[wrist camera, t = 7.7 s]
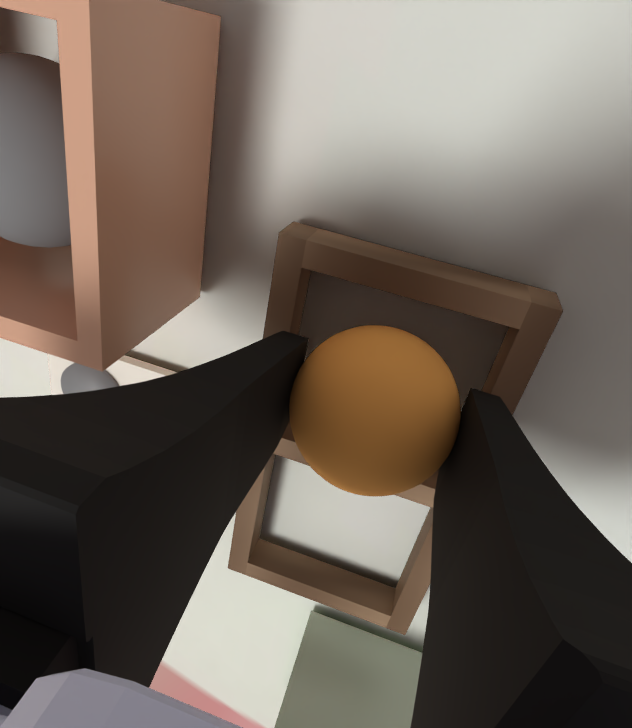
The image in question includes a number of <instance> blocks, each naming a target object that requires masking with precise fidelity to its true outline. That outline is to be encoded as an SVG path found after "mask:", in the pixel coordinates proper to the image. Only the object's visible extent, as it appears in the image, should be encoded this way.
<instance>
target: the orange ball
mask: <svg viewBox="0 0 632 728" xmlns="http://www.w3.org/2000/svg"><path fill="white" fill-rule="evenodd" d="M289 415H290V425H291V430H292V433H293V436H294V440H295V442H296V445H297V447H298V449H299V451H300V452H301V454H302V456H303V457H304V459H305V460H306V462H307V463H308V464H309V465H310V467H311V468H312V469H313V470H314V471H315V472H316V473H317V474H318V475H320V476H321V477H322V478H323V479H325V480H326V481H328V482H329V483H331V484H332V485H334V486H336V487H338V488H340V489H342V490H345V491H347V492H350V493H354V494H358V495H364V496H387V495H394V494H398V493H401V492H404V491H406V490H409V489H412V488H414V487H416V486H417V485H419V484H421V483H422V482H424V481H425V480H427V479H428V478H429V477H430V476H432V475H433V474H434V473H435V472H436V471H437V470H438V469H439V468H440V466H441V465H442V464H443V463H444V461H445V460H446V459H447V457H448V456H449V454H450V452H451V450H452V448H453V446H454V443H455V440H456V438H457V435H458V431H459V425H460V419H461V406H460V398H459V392H458V389H457V386H456V382H455V380H454V377H453V375H452V373H451V371H450V369H449V367H448V366H447V364H446V363H445V361H444V360H443V359H442V357H441V356H440V355H439V354H438V353H437V352H436V351H435V350H434V349H433V348H432V347H431V346H430V345H429V344H427V343H426V342H425V341H423V340H422V339H420V338H419V337H417V336H415V335H413V334H411V333H409V332H406V331H404V330H401V329H398V328H394V327H389V326H381V325H366V326H359V327H355V328H351V329H347V330H344V331H342V332H340V333H337V334H335V335H333V336H332V337H330V338H328V339H327V340H325V341H324V342H323V343H321V344H320V345H319V346H318V347H316V348H315V349H314V350H313V352H312V353H311V354H310V355H309V356H308V357H307V359H306V360H305V361H304V363H303V364H302V366H301V367H300V369H299V372H298V374H297V376H296V378H295V380H294V383H293V387H292V391H291V395H290V403H289Z"/></svg>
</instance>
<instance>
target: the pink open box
mask: <svg viewBox="0 0 632 728" xmlns="http://www.w3.org/2000/svg"><path fill="white" fill-rule="evenodd" d="M0 7H2V8H6V9H11V10H15V11H19V12H24V13H28V14H32V15H37V16H41V17H46V18H50V19H54V20H57V31H58V47H59V62H60V78H61V93H62V109H63V124H64V140H65V155H66V171H67V186H68V202H69V217H70V233H71V245H69V246H62V247H52V248H47V247H32V246H27V245H23V244H19V243H15V242H12V241H9V240H6V239H4V238H2V237H0V338H3V339H6V340H9V341H12V342H15V343H18V344H21V345H24V346H27V347H30V348H33V349H36V350H39V351H42V352H45V353H48V354H51V355H54V356H57V357H60V358H63V359H66V360H69V361H72V362H75V363H78V364H81V365H84V366H87V367H90V368H93V369H96V370H99V371H102V372H103V371H104V370H105V369H107V368H108V367H109V366H111V365H112V364H113V363H115V362H116V361H117V360H118V359H120V358H121V357H122V356H124V355H125V354H126V353H128V352H129V351H130V350H131V349H133V348H134V347H135V346H137V345H138V344H139V343H141V342H142V341H143V340H144V339H146V338H147V337H148V336H150V335H151V334H152V333H154V332H155V331H156V330H157V329H159V328H160V327H161V326H163V325H164V324H165V323H167V322H168V321H169V320H170V319H172V318H173V317H174V316H176V315H177V314H178V313H180V312H181V311H182V310H184V309H185V308H186V307H187V306H189V305H190V304H191V303H193V302H194V301H195V300H197V299H198V298H199V297H200V290H201V277H202V263H203V250H204V237H205V223H206V210H207V197H208V184H209V170H210V157H211V144H212V130H213V117H214V104H215V90H216V77H217V64H218V51H219V37H220V24H221V16H217V15H213V14H210V13H206V12H202V11H198V10H194V9H191V8H187V7H183V6H179V5H175V4H172V3H168V2H164V1H160V0H0Z"/></svg>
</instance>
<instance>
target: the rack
mask: <svg viewBox="0 0 632 728" xmlns="http://www.w3.org/2000/svg"><path fill="white" fill-rule="evenodd" d="M311 270H312V271H316V272H319V273H323V274H326V275H330V276H333V277H337V278H340V279H344V280H347V281H351V282H354V283H358V284H361V285H365V286H368V287H372V288H375V289H379V290H382V291H386V292H389V293H393V294H396V295H400V296H404V297H407V298H411V299H414V300H418V301H421V302H425V303H428V304H432V305H435V306H439V307H442V308H446V309H449V310H453V311H456V312H460V313H463V314H467V315H470V316H474V317H477V318H481V319H484V320H488V321H491V322H495V323H498V324H502V325H505V326H509V328H508V331H507V333H506V335H505V338H504V340H503V342H502V344H501V347H500V349H499V351H498V354H497V356H496V358H495V361H494V363H493V365H492V367H491V370H490V372H489V374H488V377H487V379H486V381H485V384H484V386H483V388H482V390H481V391H483V392H486V393H490V394H493V395H496V396H499V397H501V399H502V400H503V402H504V403H505V405H506V406H507V408H508V410H509V411H510V413H511V414H512V415H513V413H514V411H515V409H516V407H517V405H518V402H519V400H520V398H521V396H522V394H523V392H524V390H525V388H526V386H527V384H528V382H529V380H530V378H531V376H532V374H533V372H534V370H535V368H536V366H537V364H538V362H539V359H540V357H541V355H542V353H543V351H544V349H545V347H546V345H547V343H548V341H549V339H550V337H551V335H552V333H553V331H554V329H555V327H556V325H557V323H558V321H559V318H560V316H561V314H562V312H563V309H562V307H561V304H560V302H559V299H558V296H557V294H556V293H554V292H551V291H547V290H543V289H540V288H536V287H532V286H529V285H525V284H521V283H518V282H514V281H510V280H507V279H503V278H499V277H496V276H492V275H488V274H485V273H481V272H477V271H474V270H470V269H466V268H463V267H459V266H455V265H452V264H448V263H444V262H441V261H437V260H433V259H430V258H426V257H422V256H418V255H415V254H411V253H407V252H404V251H400V250H396V249H393V248H389V247H385V246H382V245H378V244H374V243H371V242H367V241H363V240H360V239H356V238H352V237H349V236H345V235H341V234H338V233H334V232H330V231H327V230H323V229H319V228H316V227H312V226H308V225H305V224H301V223H297V222H292V223H291V224H290V225H288V226H287V227H286V228H284V229H283V230H282V231H280V232H279V236H278V242H277V249H276V256H275V262H274V269H273V275H272V282H271V288H270V295H269V301H268V308H267V315H266V321H265V328H264V334H263V339H264V338H266V337H268V336H271V335H273V334H275V333H278V332H280V331H286V332H290V333H293V334H296V335H299V330H300V325H301V320H302V315H303V309H304V304H305V299H306V294H307V289H308V283H309V278H310V273H311ZM275 454H276V455H279V456H282V457H285V458H288V459H291V460H294V461H297V462H300V463H303V464H305V465H308V466H310V465H309V464H308V463H307V462H306V460H305V459H304V457H303V456H302V454H301V452H300V451H299V449H298V447H297V445H296V442H295V440H294V436H293V433H292V430H291V425H290V421H289V423H288V425H287V427H286V429H285V432H284V434H283V436H282V438H281V440H280V442H279V444H278V446H277V448H276V449H275V451H274V453H273V454H272V456H271V457H270V459H269V461H268V462H267V464H266V465H265V467H264V469H263V470H262V472H261V473H260V475H259V476H258V478H257V479H256V481H255V483H254V484H253V486H252V487H251V489H250V490H249V492H248V493H247V495H246V497H245V498H244V500H243V501H242V503H241V504H240V506H239V508H238V509H237V511H236V518H235V524H234V531H233V538H232V544H231V551H230V557H229V564H228V568H229V569H231V570H234V571H237V572H239V573H242V574H245V575H247V576H250V577H253V578H255V579H258V580H261V581H263V582H266V583H268V584H271V585H274V586H276V587H279V588H282V589H284V590H287V591H290V592H292V593H295V594H298V595H300V596H303V597H305V598H308V599H311V600H313V601H316V602H319V603H321V604H324V605H327V606H329V607H332V608H335V609H337V610H340V611H343V612H345V613H348V614H350V615H353V616H356V617H358V618H361V619H364V620H366V621H369V622H372V623H374V624H377V625H380V626H382V627H385V628H387V629H390V630H393V631H395V632H398V633H401V634H403V635H405V634H406V632H407V630H408V628H409V626H410V624H411V622H412V620H413V618H414V616H415V613H416V611H417V609H418V607H419V605H420V603H421V601H422V599H423V597H424V595H425V593H426V591H427V589H428V587H429V585H430V579H431V552H432V526H433V504H434V494H435V489H436V483H437V477H438V472H439V469H438V470H437V471H436V472H435V473H434V474H433V475H432V476H430V477H429V478H428V479H427V480H425V481H424V482H422V483H421V484H419V485H417V486H416V487H414V488H412V489H409V490H406V491H404V492H401V493H398V494H394V495H397V496H400V497H402V498H405V499H408V500H411V501H414V502H417V503H420V504H423V505H426V506H429V507H431V508H430V510H429V512H428V515H427V517H426V519H425V522H424V524H423V526H422V528H421V531H420V533H419V535H418V538H417V540H416V542H415V545H414V547H413V549H412V551H411V554H410V556H409V558H408V561H407V563H406V565H405V568H404V570H403V572H402V574H401V577H400V579H399V581H398V584H397V586H396V588H393V587H390V586H388V585H385V584H382V583H379V582H377V581H374V580H371V579H369V578H366V577H363V576H360V575H358V574H355V573H352V572H349V571H347V570H344V569H341V568H339V567H336V566H333V565H330V564H328V563H325V562H322V561H319V560H317V559H314V558H311V557H308V556H306V555H303V554H300V553H298V552H295V551H292V550H289V549H287V548H284V547H281V546H278V545H276V544H273V543H270V542H267V541H265V540H262V539H259V537H260V532H261V526H262V521H263V516H264V511H265V506H266V501H267V495H268V490H269V485H270V480H271V475H272V470H273V464H274V459H275Z"/></svg>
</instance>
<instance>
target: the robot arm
mask: <svg viewBox="0 0 632 728" xmlns="http://www.w3.org/2000/svg"><path fill="white" fill-rule="evenodd" d="M308 339H309V338H306V337H303V336H299V335H296V334H293V333H290V332H286V331H280V332H278V333H275V334H273V335H271V336H268V337H266V338H264V339H262V340H260V341H258V342H255V343H253V344H251V345H249V346H246V347H244V348H242V349H239V350H237V351H235V352H233V353H230V354H228V355H226V356H223V357H220V358H218V359H215V360H212V361H209V362H207V363H204V364H201V365H199V366H196V367H193V368H190V369H187V370H184V371H181V372H178V373H174V374H171V375H167V376H164V377H160V378H156V379H152V380H148V381H144V382H139V383H134V384H128V385H122V386H117V387H111V388H105V389H100V390H94V391H86V392H78V393H69V394H59V395H46V396H33V397H7V398H0V728H242V727H240V726H238V725H235V724H233V723H230V722H228V721H226V720H223V719H221V718H218V717H216V716H214V715H212V714H209V713H207V712H205V711H202V710H200V709H198V708H195V707H193V706H190V705H188V704H186V703H183V702H181V701H179V700H176V699H174V698H172V697H169V696H167V695H165V694H162V693H160V692H157V691H155V690H153V689H150V688H149V686H150V684H151V682H152V680H153V678H154V675H155V673H156V671H157V669H158V666H159V664H160V662H161V660H162V658H163V656H164V654H165V651H166V649H167V647H168V645H169V643H170V641H171V639H172V636H173V634H174V632H175V630H176V628H177V626H178V623H179V621H180V619H181V617H182V615H183V613H184V611H185V609H186V607H187V605H188V603H189V600H190V598H191V596H192V594H193V592H194V590H195V588H196V586H197V584H198V582H199V580H200V578H201V576H202V574H203V572H204V570H205V568H206V566H207V564H208V562H209V560H210V558H211V556H212V554H213V552H214V550H215V548H216V546H217V544H218V542H219V540H220V538H221V536H222V534H223V532H224V530H225V529H226V527H227V525H228V524H229V522H230V520H231V518H232V517H233V515H234V514H235V512H236V511H237V509H238V508H239V506H240V504H241V503H242V501H243V500H244V498H245V497H246V495H247V493H248V492H249V490H250V489H251V487H252V486H253V484H254V483H255V481H256V479H257V478H258V476H259V475H260V473H261V472H262V470H263V469H264V467H265V465H266V464H267V462H268V461H269V459H270V457H271V456H272V454H273V453H274V451H275V449H276V448H277V446H278V444H279V442H280V440H281V438H282V436H283V434H284V432H285V429H286V427H287V425H288V423H289V421H290V415H289V403H290V395H291V391H292V387H293V383H294V380H295V378H296V376H297V374H298V372H299V369H300V367H301V366H302V364H303V363H304V358H305V353H306V348H307V344H308ZM410 728H632V563H631V562H630V561H629V560H628V559H627V558H626V557H625V556H623V555H622V554H621V553H620V552H619V551H618V550H617V549H616V548H615V547H614V546H613V545H612V544H611V543H610V542H609V541H608V540H607V539H606V538H605V537H604V535H603V534H602V533H601V532H600V531H599V530H598V529H597V528H596V527H595V526H594V524H593V523H592V522H591V521H590V520H589V519H588V518H587V517H586V516H585V515H584V514H583V512H582V511H581V510H580V509H579V508H578V507H577V506H576V504H575V503H574V502H573V501H572V500H571V498H570V497H569V496H568V495H567V493H566V492H565V491H564V490H563V488H562V487H561V486H560V484H559V483H558V482H557V481H556V479H555V478H554V477H553V475H552V474H551V473H550V471H549V470H548V469H547V467H546V466H545V464H544V463H543V462H542V460H541V459H540V457H539V456H538V454H537V453H536V452H535V450H534V449H533V447H532V446H531V444H530V443H529V441H528V440H527V438H526V436H525V435H524V433H523V432H522V430H521V429H520V427H519V425H518V424H517V422H516V421H515V419H514V418H513V416H512V414H511V413H510V411H509V410H508V408H507V406H506V405H505V403H504V402H503V400H502V399H501V397H499V396H496V395H493V394H490V393H486V392H483V391H480V390H476V389H473V388H471V389H470V391H469V394H468V396H467V399H466V401H465V403H464V406H463V408H462V410H461V419H460V425H459V431H458V435H457V438H456V440H455V443H454V446H453V448H452V450H451V452H450V454H449V456H448V457H447V459H446V460H445V461H444V463H443V464H442V465H441V466H440V468H439V472H438V477H437V483H436V489H435V494H434V504H433V526H432V552H431V579H430V598H429V610H428V618H427V625H426V632H425V639H424V646H423V653H422V659H421V666H420V672H419V678H418V685H417V691H416V697H415V703H414V710H413V716H412V721H411V727H410Z"/></svg>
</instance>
